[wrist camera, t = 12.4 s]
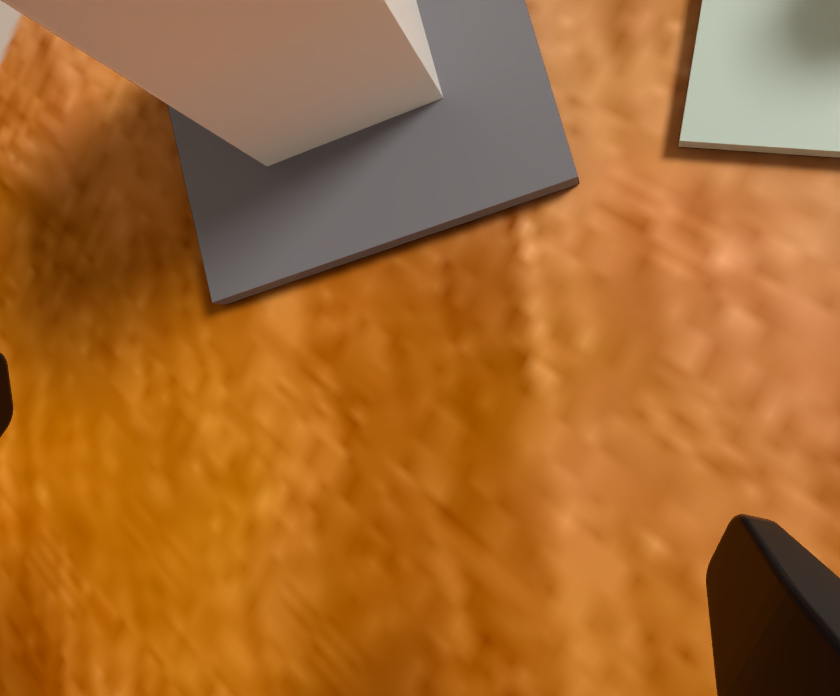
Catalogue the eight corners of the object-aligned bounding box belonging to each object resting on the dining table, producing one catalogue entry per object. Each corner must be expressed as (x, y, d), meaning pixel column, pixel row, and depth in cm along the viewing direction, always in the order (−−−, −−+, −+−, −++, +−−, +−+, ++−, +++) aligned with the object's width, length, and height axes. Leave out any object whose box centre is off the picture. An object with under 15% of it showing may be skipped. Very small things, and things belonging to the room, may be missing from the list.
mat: (579, 183, 17) (578, 176, 16) (224, 305, 19) (212, 302, 19) (460, -209, 18) (455, -228, 17) (144, -47, 20) (130, -60, 20)
